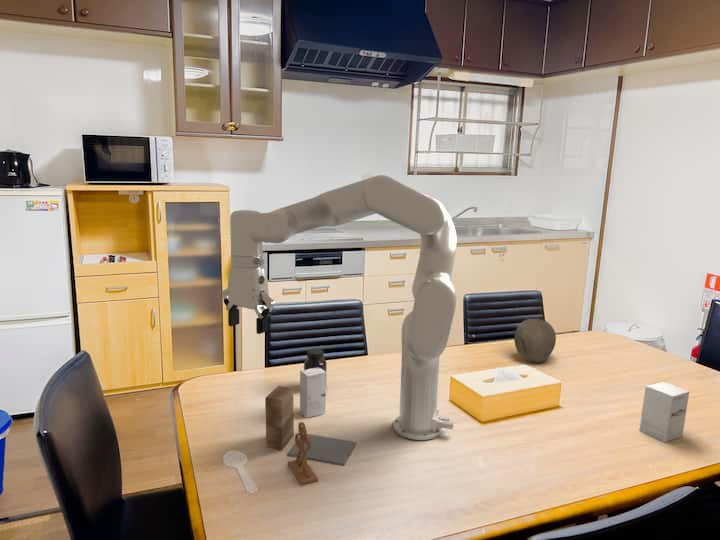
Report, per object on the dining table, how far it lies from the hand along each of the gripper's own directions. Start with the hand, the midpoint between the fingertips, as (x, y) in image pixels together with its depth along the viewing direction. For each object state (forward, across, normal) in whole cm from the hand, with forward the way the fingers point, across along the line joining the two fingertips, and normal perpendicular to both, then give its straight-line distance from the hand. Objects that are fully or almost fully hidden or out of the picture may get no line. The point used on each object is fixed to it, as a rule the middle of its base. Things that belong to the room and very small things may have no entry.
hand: (247, 328), depth 131 cm
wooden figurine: (+26, -25, +8) cm, 37 cm away
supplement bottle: (+26, 0, -28) cm, 39 cm away
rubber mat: (+26, -22, -2) cm, 35 cm away
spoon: (+27, -13, +16) cm, 34 cm away
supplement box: (+26, -90, -59) cm, 110 cm away
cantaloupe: (+26, -47, -93) cm, 107 cm away
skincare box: (+26, -9, -15) cm, 32 cm away
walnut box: (+26, -12, +1) cm, 29 cm away
